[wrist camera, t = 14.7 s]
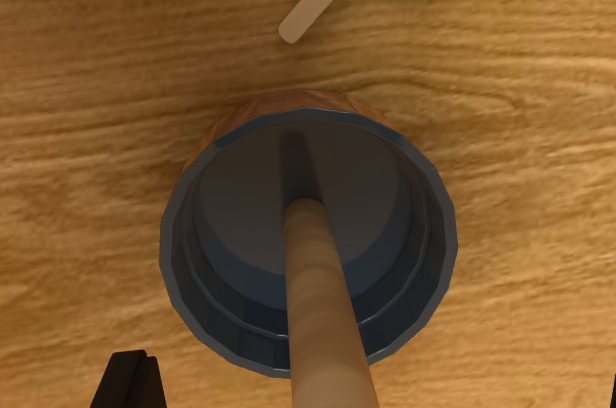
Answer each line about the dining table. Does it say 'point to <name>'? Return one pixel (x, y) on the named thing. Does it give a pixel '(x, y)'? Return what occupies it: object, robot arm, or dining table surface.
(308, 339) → the stick
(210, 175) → the bowl
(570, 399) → the dining table surface
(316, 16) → the popsicle
